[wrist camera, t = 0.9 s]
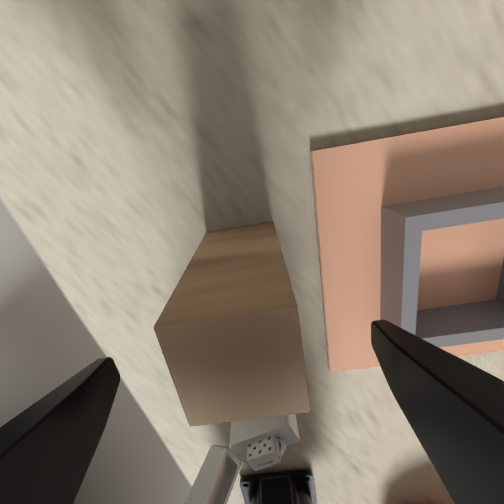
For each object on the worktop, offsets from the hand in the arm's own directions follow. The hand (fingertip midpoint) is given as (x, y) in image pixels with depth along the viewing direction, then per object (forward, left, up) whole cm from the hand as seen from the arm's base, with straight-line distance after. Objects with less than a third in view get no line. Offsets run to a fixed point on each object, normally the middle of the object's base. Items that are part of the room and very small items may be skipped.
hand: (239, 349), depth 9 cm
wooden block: (0, 0, -8) cm, 8 cm away
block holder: (-2, -12, -8) cm, 14 cm away
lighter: (-11, +2, -8) cm, 14 cm away
